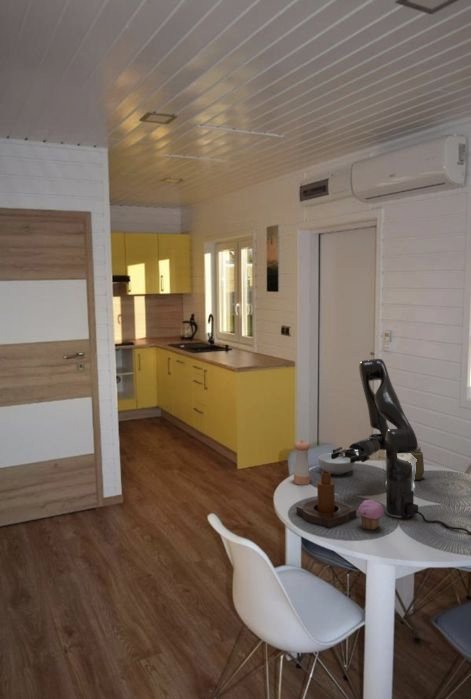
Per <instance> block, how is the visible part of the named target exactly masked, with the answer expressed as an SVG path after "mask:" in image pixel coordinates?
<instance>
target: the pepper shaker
mask: <svg viewBox="0 0 471 699" xmlns="http://www.w3.org/2000/svg"><path fill="white" fill-rule="evenodd" d="M310 447H311V446H310V443H309V442H307V441H304V440H303V439H300V440H299V441H297V442H294V444H293V448H294V450H295V460H294V473H293V483H294V484H296V485H299V486H300V485H301V486H303V485H304V486H305V485H309V484H310V483H311V473H310V463H309V449H310Z"/></svg>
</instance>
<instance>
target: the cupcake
mask: <svg viewBox="0 0 471 699" xmlns="http://www.w3.org/2000/svg"><path fill="white" fill-rule="evenodd" d="M357 509H358V511H357V512H358V514H359V516H360V520H361V527H362V528H363V529H365V530H371V531H373V530H376V529H377V528H378V527H379V524H380V520H381V517H382V516H383V515H384V507H383V505H382V504H381V503H379V502H378V501H375V500H373V499H365V500H364V501H362V503H361V504H360V505H359V506H358V508H357Z"/></svg>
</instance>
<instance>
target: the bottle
mask: <svg viewBox="0 0 471 699" xmlns="http://www.w3.org/2000/svg"><path fill="white" fill-rule="evenodd" d="M320 474H321V476H320V480H318V481H317V482H316V483H317V484H316V485H317V486H316V487H317V492H316V493H317V494H316V496H317V498H316V500H317V510H318V512H321V513H334V512H335V501H336V498H335V495H336V494H335V492H336V491H335V488H336V487H335V486H336V485H335V482H334V480H331V478H332V477H331V476H332V474H331V473H330V472H328V471H325V470H323V471H321V472H320Z"/></svg>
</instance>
